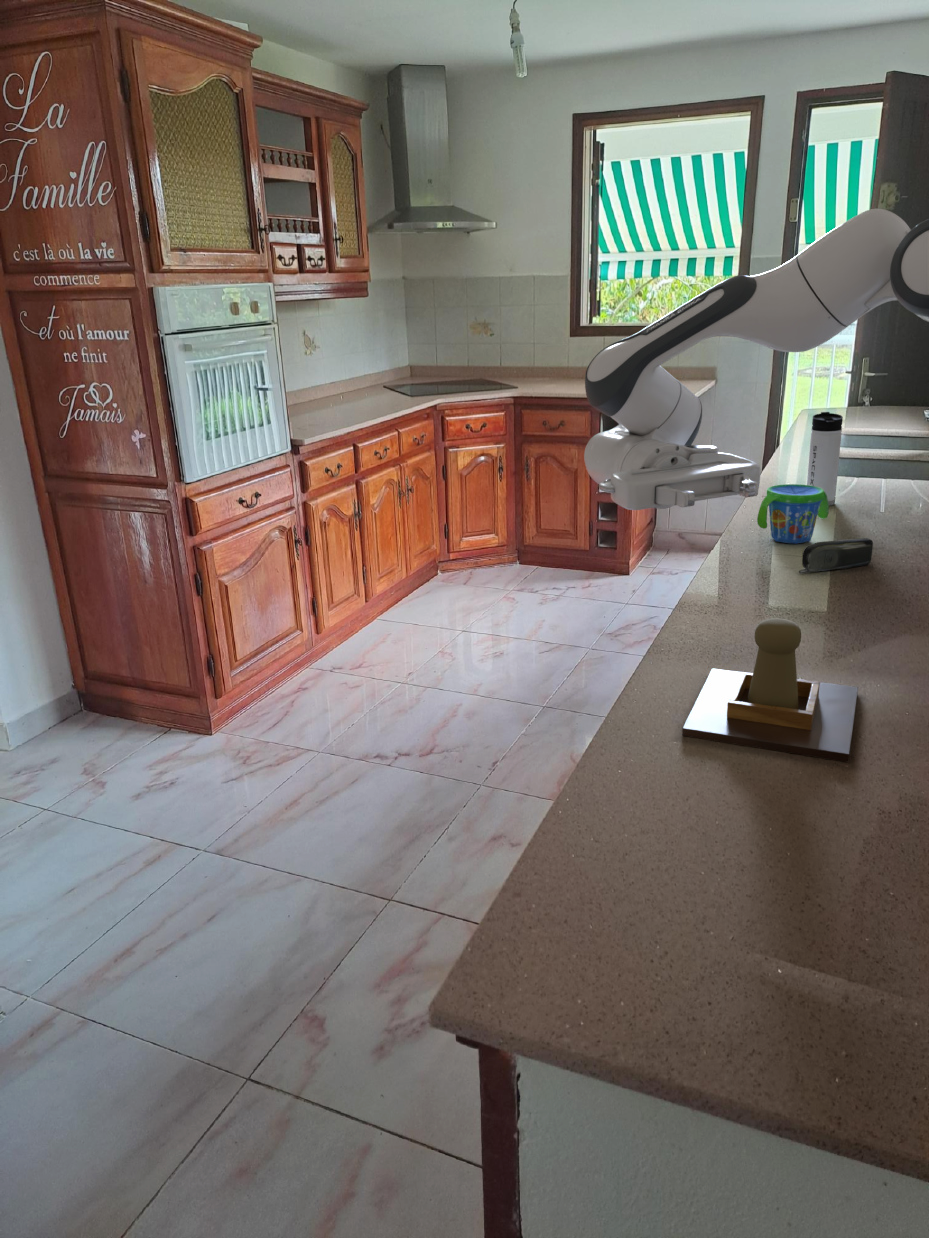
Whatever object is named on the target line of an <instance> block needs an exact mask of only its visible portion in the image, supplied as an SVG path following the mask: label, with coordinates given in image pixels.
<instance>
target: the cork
mask: <svg viewBox="0 0 929 1238" xmlns="http://www.w3.org/2000/svg"><path fill="white" fill-rule="evenodd" d="M754 642H755V644H756V646H757V647H758V649H757V653H756V657H755V661H754V662H755V663H754V666H753V672H752V673H753V676H752V681H751V685H750V690H749V695H748V699H747V703H754V704H761V705H768V706H775V707H782V708H790V709H797V710H799V704H798V688H797V679H798V677H797V676H798V674H797V673H798V672H797V659H796V657H797V656H796V650H797V648H798V647H799V646H800V644H801V642H802V631H801V628H800V626H799V625H798V623H796V622H794V621H793V620H790V619H787V618H779V617H771V618H766V619H763V620H761V621H759V623H758V624H757V625H756V627H755V630H754Z"/></svg>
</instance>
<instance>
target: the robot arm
mask: <svg viewBox="0 0 929 1238" xmlns="http://www.w3.org/2000/svg"><path fill="white" fill-rule="evenodd" d="M894 301H895V302H896V301H898V302H899V304H901V305H902V307H904V308H905V310H908V311H909V312H911V313H912V314H914V315H916V316H917V317H919V318H920V319H921V320H923V321H925V322H927V323H929V218H927V219H926V220H924V221H922V222H919V223H918V224H917V225H915V226H914V227H912V229H911V228H910V226H909V225H908V224H907V222H906V221H905V220H904V219H902V217H900V216H898V215H897V214H896V213H894V212H892V211H890V210H887V209H884V208H871V209H867V210H865V211H863V212H861V213H859V214H857V215H854V216H853V217H852V218H850V219H848V220H846V221H845V222H843V223H841V224H840V225H838V226H836V227H835V228H833V229H832V230H830V231H829V232H827V233H825V234H824V235H823V236H821V237H819V238H818V239H816V240H815V241H814V242H812V243H811V244H810V245H808V246H807V247H806V248H805V249H803V250H802V251H800V252H799V253H798V254H797V255H795V256H793V258H791V259H790V260H788V261H786V262H785V263H783V264H782V265H779V266H778V267H776V268H773V269H771V270H768V271H765V272H762V273H759V274H754V275H750V276H749V275H744V274H739V275H734V276H732V277H729V278H727V279H725V280H723V281H721V282H719V283H717V284H715V285H714V286H712V287H710V288H708V289H706V290H705V291H703V292H702V293H699V294H698V295H696V296H695V297H693V298H691V299H690V300H688V301H687V302H684V303H683V304H682V305H679V306H678V307H676V308H675V309H673V310H672V311H670V312H668V313H667V314H665V315H664V316H662V317H660V318H659V319H658V320H656V321H654V322H653V323H650V324H649V325H647V326H646V327H644V328H642V329H641V330H639V331H637V332H636V333H634V334H631V335H630V336H628V337H625V338H623V339H620V340H617V341H615V342H612V343H611V344H609V345H607V346H605V347H604V348H603V349H601V350H600V351H599V352H598V353H597V354H596V355H594V357H593V358H592V359H591V361H589V364H588V365H587V368H586V370H585V374H584V390H585V395H586V400H587V402H588V404H589V405H590V406H591V407H592V408H594V409H595V410H597V411H599V412H600V413H602V414H604V415H605V416H607V417H610V418H611V419H612V420H614V421H615V422H616V423H617V425H616V426H614V427H613V428H611V429H608V430H605V431H601V432H598V433H596V434H594V435H593V436H592V437H591V438H590V439H589V440H588V442H587V443H586V446H585V449H584V453H583V460H584V467H585V469H586V471H587V473H588V475H589V476H590V478H591V479H592V480H593V482H595V483H596V484H597V485H598V488H599V489H598V490H599V491H602V492H605V493H608V494H610V499H611V501H612V502H613V503H615V504H616V505H618V506H619V507H621V508H623V509H626V510H629V511H641V510H648V509H657V510H666V509H669V508H672V507H674V506H676V507H679V508H683V509H684V508H690V507H694V506H695V504H696V503H695V502H699V501H707V500H712V499H719V498H725V497H732V496H741V497H744V498H753V497H757V496H758V495H759V488H760V483H761V466H760V464H759V463H757V462H755V461H754V460H750V459H748V458H745V457H742V456H739V455H736V454H732V453H727V452H720V450H719V447H717V446H715V445H703V444H702V445H701V444H700V445H699V444H695V445H694V444H693V443H694V442H695V439H696V438H697V436H698V434H699V431H700V427H701V424H702V419H703V405H702V401H701V400H700V398H699V397H698V396H697V395H695V393H693V392H692V391H691V390H690V389H689V388H688V387H687V386H686V385H684V384H683V383H682V382H681V381H680V380H678V379H677V378H675V377H674V376H673V375H672V374H671V373H670V372H668V371H667V370H666V369H665V368H664V367H663V366H661V365H663V364H665V363H666V362H668V361H670V360H672V359H674V358H675V357H677V356H678V355H680V354H682V353H684V352H685V351H687V350H688V349H691V348H692V347H695V346H696V345H697V344H699V343H701V342H703V341H705V340H707V339H711V338H715V337H716V338H717V337H731V338H738V339H742V340H746V341H749V342H752V343H755V344H757V345H760V346H762V347H765V348H767V349H771V350H774V351H777V352H784V353H804V352H807V351H810V350H813V349H815V348H818V347H820V346H822V345H823V344H825V343H827V342H829V341H830V340H831V339H833V338H834V337H836V336H837V335H839V334H840V333H841V332H843V331H844V330H845V329H847V328H848V327H849V326H851V325H852V324H854V323H855V322H857V320H859V319H860V318H862V317H863V316H865V315H866V314H867V313H869V312H871V311H872V310H874V309H875V308H877V307H879V306H881V305H883V304H886V303H888V302H894Z"/></svg>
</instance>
